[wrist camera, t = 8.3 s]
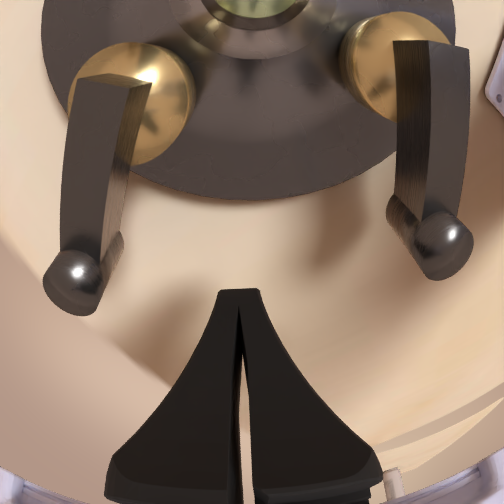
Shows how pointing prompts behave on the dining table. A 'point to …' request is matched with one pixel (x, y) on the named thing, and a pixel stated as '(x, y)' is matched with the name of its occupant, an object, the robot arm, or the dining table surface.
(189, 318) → the dining table surface
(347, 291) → the dining table surface
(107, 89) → the knob
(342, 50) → the knob
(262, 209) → the dining table surface
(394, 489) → the energy drink can
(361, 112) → the levelling plate
